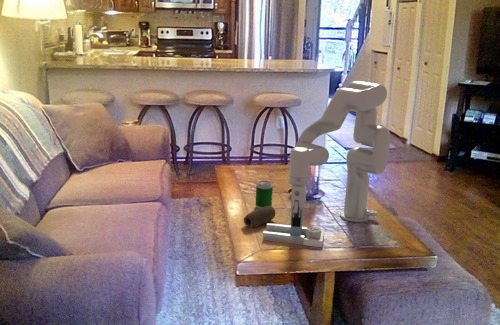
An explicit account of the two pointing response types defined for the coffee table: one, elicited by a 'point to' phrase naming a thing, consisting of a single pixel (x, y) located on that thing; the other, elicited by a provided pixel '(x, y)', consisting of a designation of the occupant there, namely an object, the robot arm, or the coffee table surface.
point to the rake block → (296, 229)
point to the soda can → (264, 194)
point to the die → (314, 233)
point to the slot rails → (277, 234)
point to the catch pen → (314, 240)
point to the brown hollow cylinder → (259, 216)
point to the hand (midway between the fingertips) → (297, 222)
